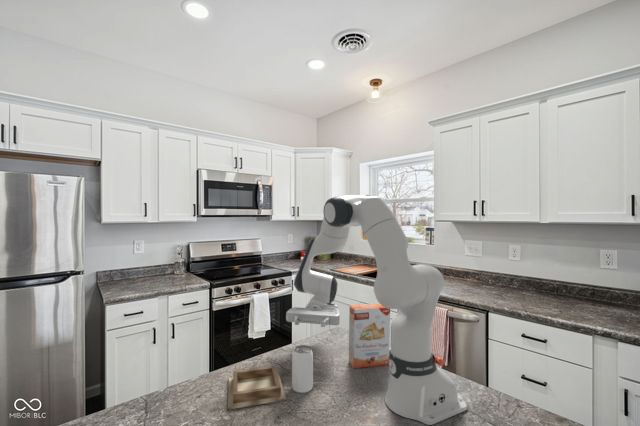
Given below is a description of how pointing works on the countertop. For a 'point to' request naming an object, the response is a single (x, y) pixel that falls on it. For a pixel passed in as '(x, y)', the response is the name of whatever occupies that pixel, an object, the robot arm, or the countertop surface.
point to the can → (302, 369)
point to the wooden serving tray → (255, 387)
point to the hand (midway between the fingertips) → (309, 323)
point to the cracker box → (369, 335)
